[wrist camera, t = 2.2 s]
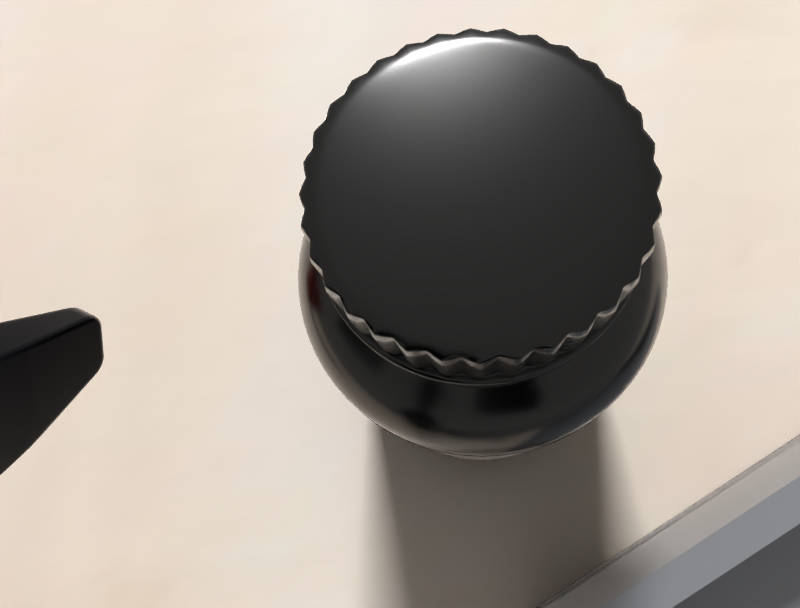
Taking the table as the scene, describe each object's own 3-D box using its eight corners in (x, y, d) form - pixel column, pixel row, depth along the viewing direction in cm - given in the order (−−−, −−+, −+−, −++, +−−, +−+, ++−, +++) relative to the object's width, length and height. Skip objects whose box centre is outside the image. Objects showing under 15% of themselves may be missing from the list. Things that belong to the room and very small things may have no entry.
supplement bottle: (571, 486, 19) (704, 532, 7) (345, 428, 20) (148, 388, 8) (614, 261, 20) (785, -8, 8) (400, 220, 21) (293, -64, 10)
